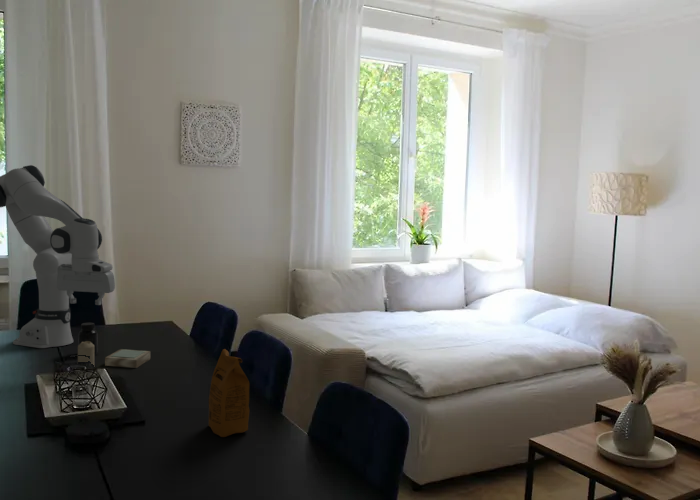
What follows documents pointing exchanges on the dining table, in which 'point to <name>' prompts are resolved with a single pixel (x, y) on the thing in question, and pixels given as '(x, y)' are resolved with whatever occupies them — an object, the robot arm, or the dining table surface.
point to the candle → (86, 352)
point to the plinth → (127, 358)
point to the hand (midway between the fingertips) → (85, 304)
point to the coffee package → (228, 397)
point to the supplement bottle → (89, 335)
